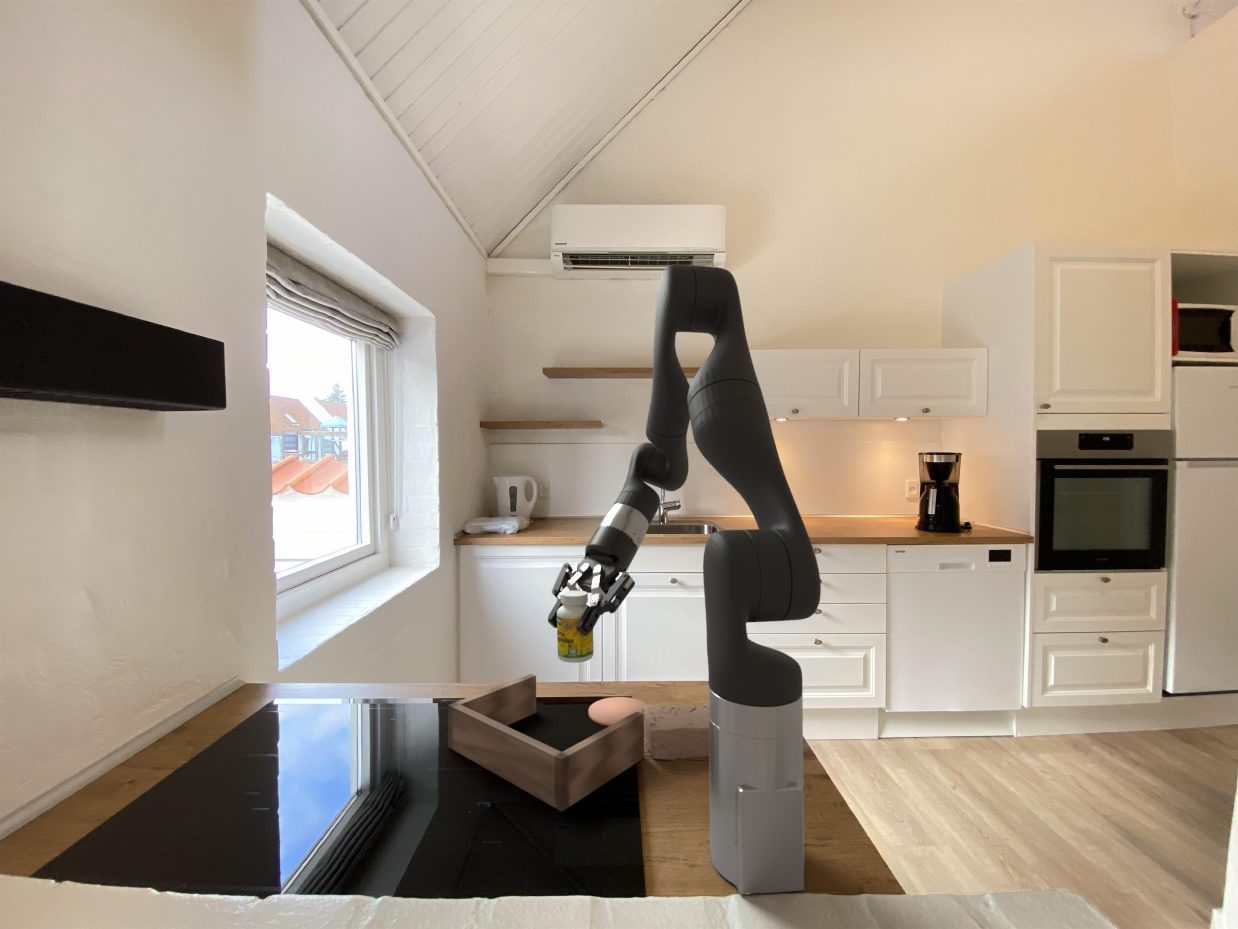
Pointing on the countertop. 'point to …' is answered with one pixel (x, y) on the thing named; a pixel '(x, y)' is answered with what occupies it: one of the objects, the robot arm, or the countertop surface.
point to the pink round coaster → (614, 709)
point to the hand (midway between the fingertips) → (566, 628)
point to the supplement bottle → (573, 628)
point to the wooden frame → (539, 745)
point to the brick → (676, 731)
